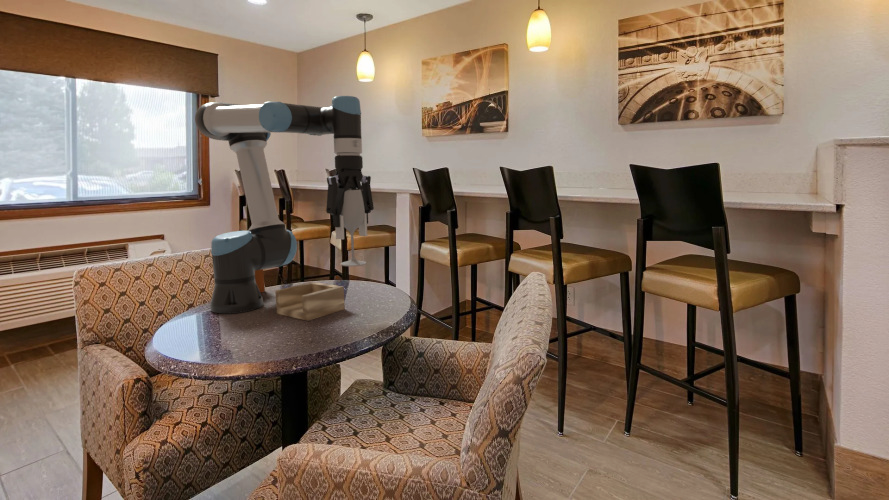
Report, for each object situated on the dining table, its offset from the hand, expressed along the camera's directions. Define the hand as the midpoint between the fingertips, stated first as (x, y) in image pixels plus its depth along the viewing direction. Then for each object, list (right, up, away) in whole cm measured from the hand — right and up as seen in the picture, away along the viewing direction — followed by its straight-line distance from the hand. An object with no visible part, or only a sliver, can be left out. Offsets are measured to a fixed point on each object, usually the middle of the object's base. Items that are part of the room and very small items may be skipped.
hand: (351, 237), depth 141 cm
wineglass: (0, -8, +1) cm, 8 cm away
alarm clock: (-43, -19, +32) cm, 57 cm away
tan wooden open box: (-14, -22, +9) cm, 28 cm away
